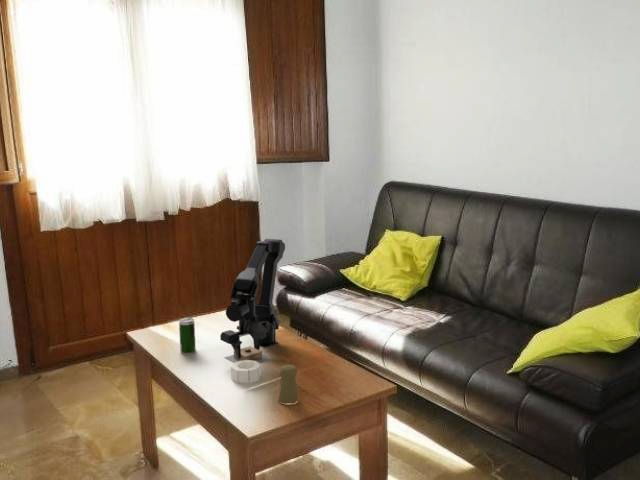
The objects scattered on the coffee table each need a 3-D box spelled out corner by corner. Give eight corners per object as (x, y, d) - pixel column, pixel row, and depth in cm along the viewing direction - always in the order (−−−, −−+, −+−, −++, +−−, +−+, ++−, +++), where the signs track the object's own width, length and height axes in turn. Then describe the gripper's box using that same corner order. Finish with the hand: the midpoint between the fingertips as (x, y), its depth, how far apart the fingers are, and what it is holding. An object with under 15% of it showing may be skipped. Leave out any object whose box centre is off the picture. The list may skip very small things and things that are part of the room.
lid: (250, 352, 235) (250, 344, 234) (262, 358, 229) (262, 349, 229) (233, 357, 230) (233, 349, 229) (245, 363, 225) (245, 354, 224)
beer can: (183, 355, 233) (182, 323, 231) (178, 351, 237) (176, 319, 235) (198, 352, 236) (196, 320, 234) (192, 348, 240) (190, 316, 238)
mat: (252, 350, 238) (252, 349, 238) (272, 359, 229) (272, 358, 229) (223, 358, 230) (223, 357, 230) (243, 368, 221) (243, 367, 221)
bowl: (249, 370, 220) (249, 357, 219) (265, 378, 213) (265, 365, 212) (226, 378, 214) (226, 364, 213) (242, 386, 208) (242, 373, 207)
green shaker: (278, 397, 200) (277, 362, 198) (298, 396, 201) (298, 362, 199) (278, 405, 194) (278, 370, 192) (299, 405, 195) (299, 370, 193)
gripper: (237, 324, 214) (238, 369, 218) (282, 312, 226) (283, 355, 230) (218, 316, 223) (220, 359, 226) (263, 305, 235) (264, 346, 238)
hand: (247, 355), depth 230 cm, fingers closed on lid, 7 cm apart
